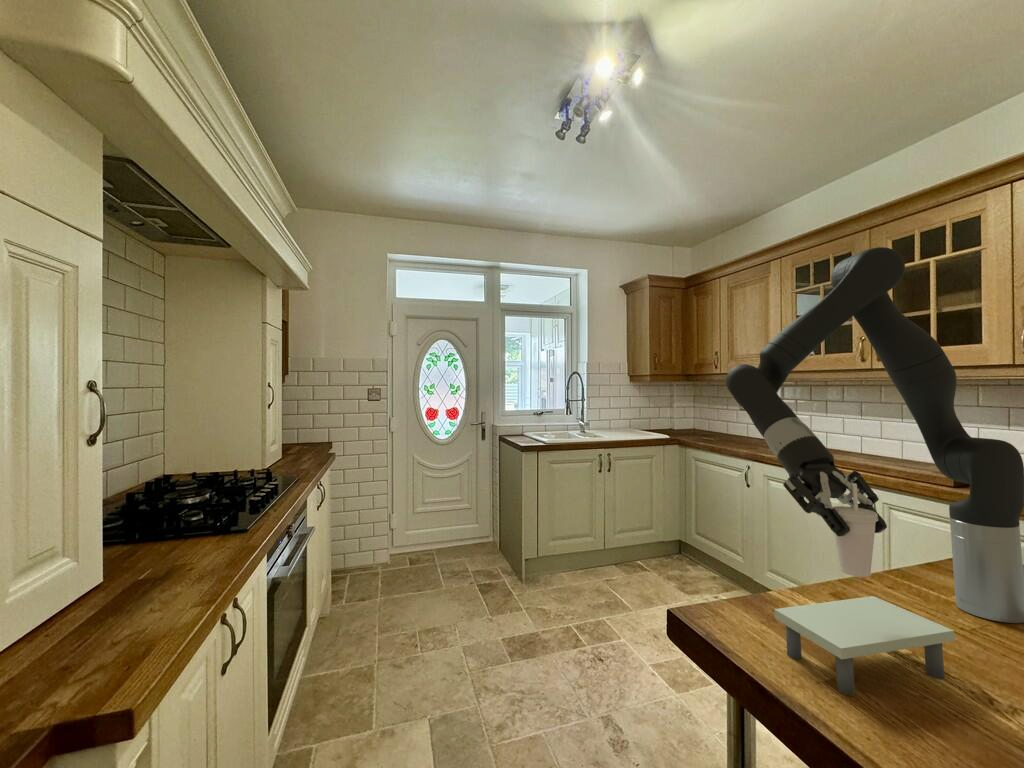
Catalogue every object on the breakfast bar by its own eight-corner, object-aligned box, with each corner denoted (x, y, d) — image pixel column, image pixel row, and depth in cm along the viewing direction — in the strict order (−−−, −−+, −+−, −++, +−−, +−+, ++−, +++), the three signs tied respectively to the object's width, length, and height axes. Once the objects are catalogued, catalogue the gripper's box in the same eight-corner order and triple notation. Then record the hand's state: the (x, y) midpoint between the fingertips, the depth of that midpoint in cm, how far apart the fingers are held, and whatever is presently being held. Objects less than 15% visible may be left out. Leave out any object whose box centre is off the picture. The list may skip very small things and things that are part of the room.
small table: (875, 636, 76) (873, 596, 77) (957, 679, 64) (954, 630, 65) (776, 652, 72) (774, 609, 73) (844, 700, 61) (841, 648, 61)
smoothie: (891, 581, 66) (886, 487, 66) (843, 579, 67) (838, 487, 67) (866, 565, 72) (861, 480, 72) (822, 563, 73) (818, 479, 74)
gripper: (773, 436, 76) (839, 523, 64) (842, 433, 79) (918, 515, 67) (752, 462, 81) (810, 548, 69) (818, 458, 84) (885, 540, 72)
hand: (863, 531), depth 68 cm, fingers closed on smoothie, 6 cm apart
